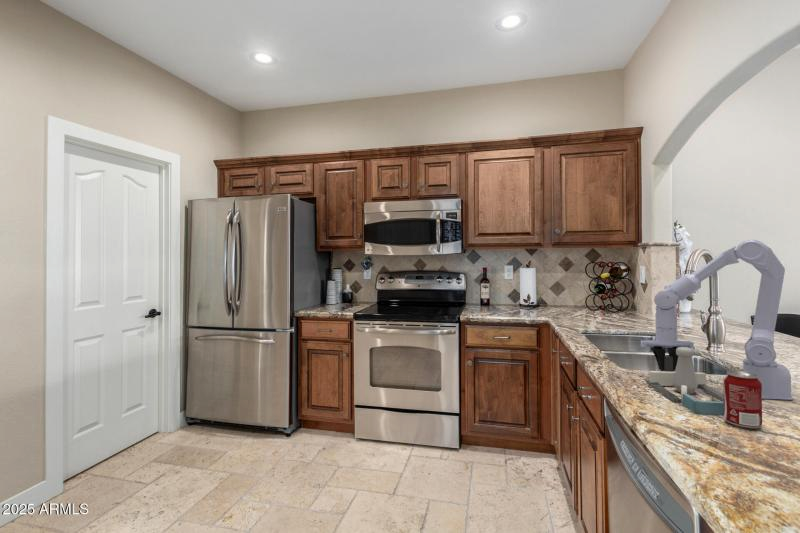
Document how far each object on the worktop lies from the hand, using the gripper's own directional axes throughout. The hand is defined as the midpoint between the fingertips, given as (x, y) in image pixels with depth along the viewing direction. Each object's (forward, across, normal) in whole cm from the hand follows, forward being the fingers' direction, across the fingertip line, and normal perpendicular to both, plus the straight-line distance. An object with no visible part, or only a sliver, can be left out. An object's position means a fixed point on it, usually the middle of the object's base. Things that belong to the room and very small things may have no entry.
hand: (666, 370), depth 124 cm
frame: (+3, 0, +25) cm, 25 cm away
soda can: (+4, -1, +34) cm, 34 cm away
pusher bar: (+3, 0, +3) cm, 4 cm away
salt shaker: (+4, 0, +11) cm, 12 cm away
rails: (+3, 0, +12) cm, 13 cm away
